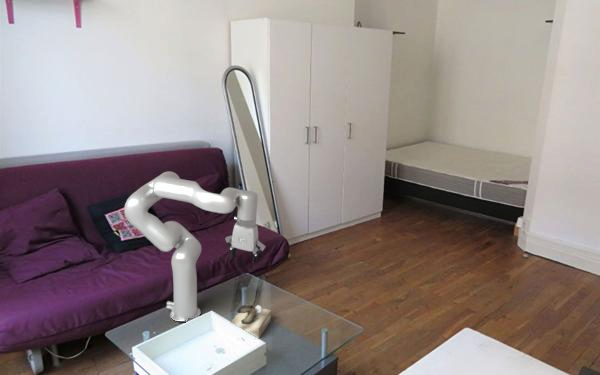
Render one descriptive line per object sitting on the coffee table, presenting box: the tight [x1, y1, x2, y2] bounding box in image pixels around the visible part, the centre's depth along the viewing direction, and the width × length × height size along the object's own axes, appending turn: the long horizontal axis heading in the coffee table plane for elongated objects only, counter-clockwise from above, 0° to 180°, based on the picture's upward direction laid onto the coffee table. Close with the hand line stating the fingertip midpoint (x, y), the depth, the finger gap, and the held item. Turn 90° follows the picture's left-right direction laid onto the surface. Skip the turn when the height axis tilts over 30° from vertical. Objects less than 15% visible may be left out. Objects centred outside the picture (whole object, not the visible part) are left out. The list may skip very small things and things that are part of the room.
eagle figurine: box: [236, 300, 262, 324], centre depth 190 cm, size 8×7×9 cm
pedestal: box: [230, 304, 272, 339], centre depth 194 cm, size 12×14×5 cm
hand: (243, 260), depth 191 cm, fingers open, 9 cm apart
